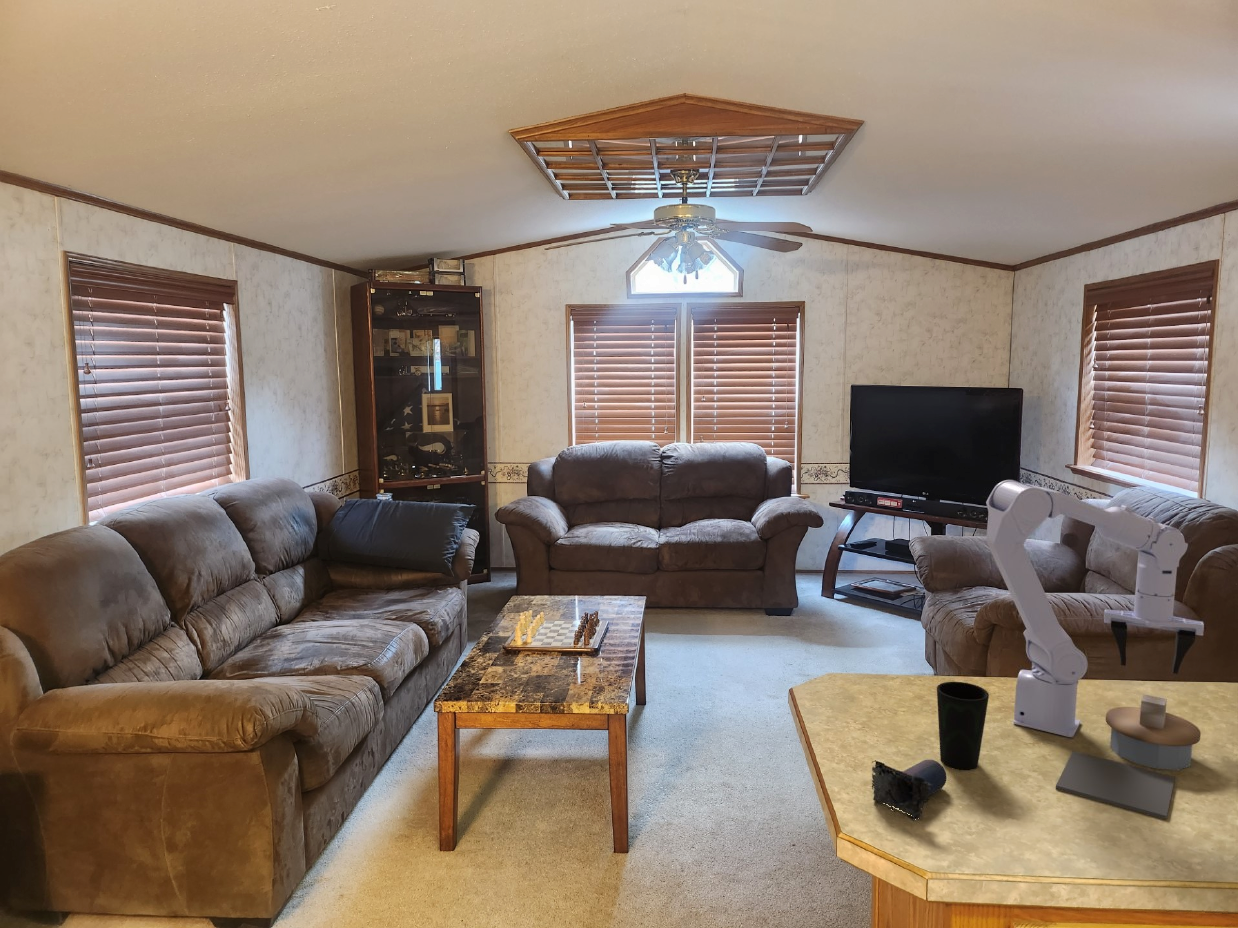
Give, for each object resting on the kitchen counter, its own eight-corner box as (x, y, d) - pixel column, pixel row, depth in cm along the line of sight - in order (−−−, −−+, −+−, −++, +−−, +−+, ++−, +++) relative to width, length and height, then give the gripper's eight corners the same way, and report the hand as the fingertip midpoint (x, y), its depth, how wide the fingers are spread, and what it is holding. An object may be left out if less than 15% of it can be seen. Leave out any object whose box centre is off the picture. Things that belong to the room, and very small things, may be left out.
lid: (1100, 731, 135) (1102, 702, 135) (1111, 704, 146) (1113, 678, 145) (1197, 754, 128) (1200, 724, 127) (1202, 724, 138) (1205, 696, 137)
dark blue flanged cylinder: (916, 832, 117) (953, 804, 126) (930, 784, 116) (966, 759, 124) (859, 797, 124) (897, 773, 132) (871, 751, 122) (909, 729, 130)
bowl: (1106, 755, 137) (1108, 729, 136) (1116, 731, 145) (1117, 707, 145) (1187, 776, 130) (1190, 748, 129) (1192, 749, 139) (1195, 723, 138)
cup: (985, 756, 137) (989, 685, 135) (984, 777, 130) (988, 703, 128) (935, 747, 140) (938, 678, 138) (931, 767, 133) (934, 695, 131)
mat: (1055, 788, 126) (1055, 785, 126) (1072, 753, 137) (1072, 750, 137) (1166, 819, 118) (1166, 815, 118) (1174, 779, 129) (1175, 776, 129)
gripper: (1106, 591, 145) (1100, 667, 147) (1208, 604, 138) (1201, 683, 140) (1106, 582, 151) (1101, 654, 153) (1203, 593, 144) (1197, 669, 146)
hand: (1148, 667), depth 147 cm, fingers open, 7 cm apart
